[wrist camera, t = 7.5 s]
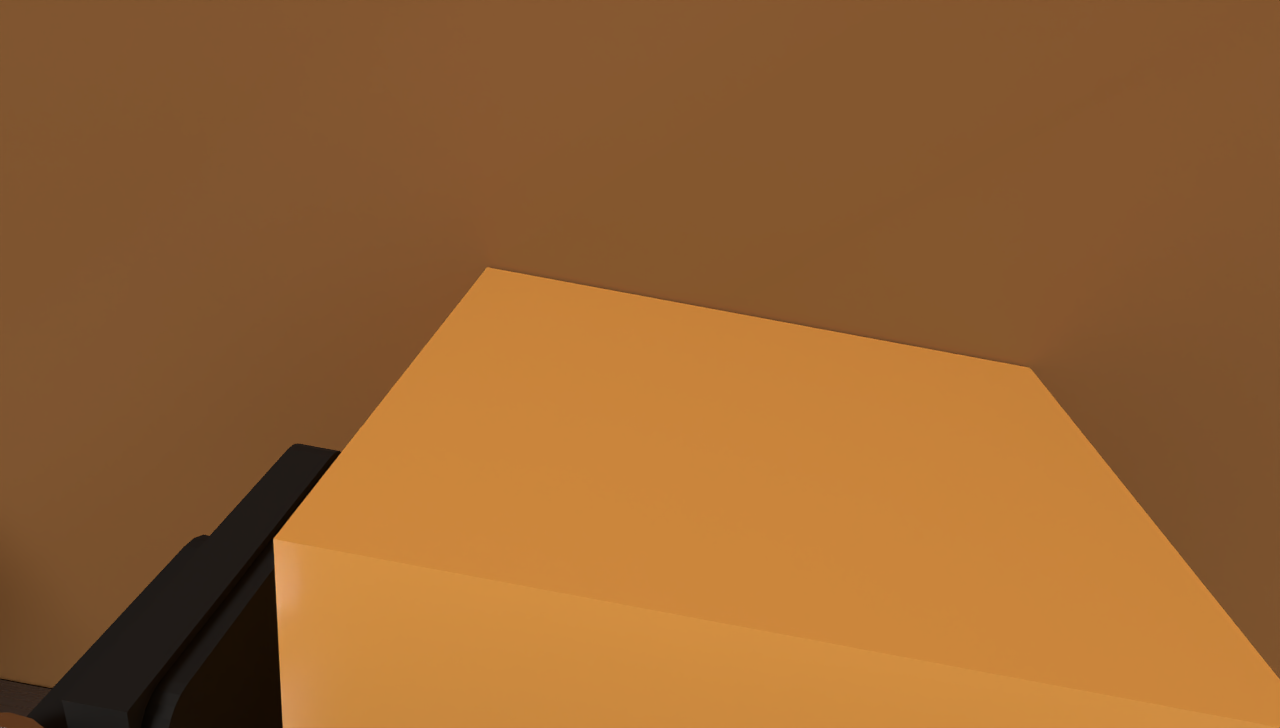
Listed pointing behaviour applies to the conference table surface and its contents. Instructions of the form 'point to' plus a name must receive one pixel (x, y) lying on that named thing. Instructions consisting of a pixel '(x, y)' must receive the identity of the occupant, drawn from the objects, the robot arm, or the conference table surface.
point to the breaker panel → (20, 697)
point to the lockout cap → (733, 540)
